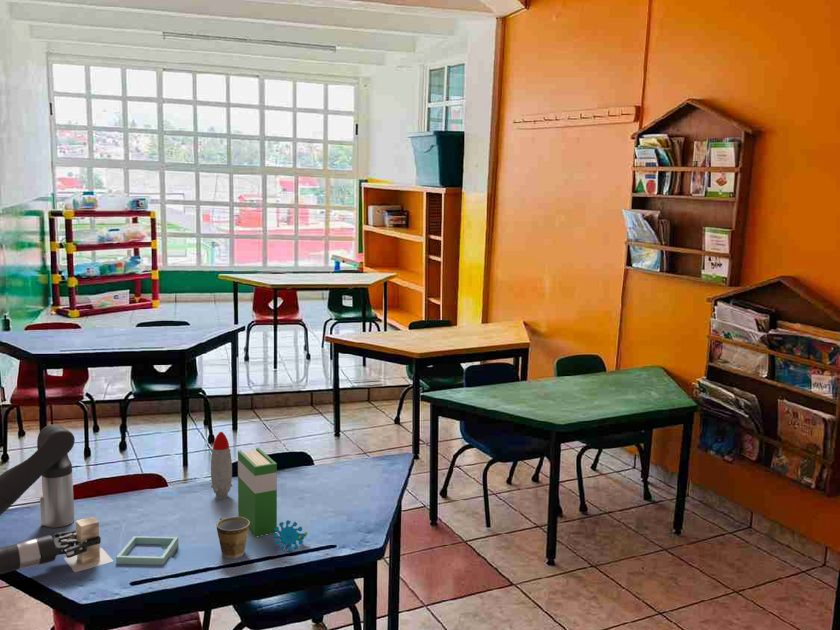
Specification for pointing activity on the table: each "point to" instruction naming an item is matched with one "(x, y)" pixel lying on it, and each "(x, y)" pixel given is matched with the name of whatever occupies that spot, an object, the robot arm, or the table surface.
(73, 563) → the white board
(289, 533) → the teal virus model
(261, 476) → the hardback book
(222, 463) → the toy rocket
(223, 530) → the ceramic cup
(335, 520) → the table surface
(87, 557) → the birch block
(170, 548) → the tray
